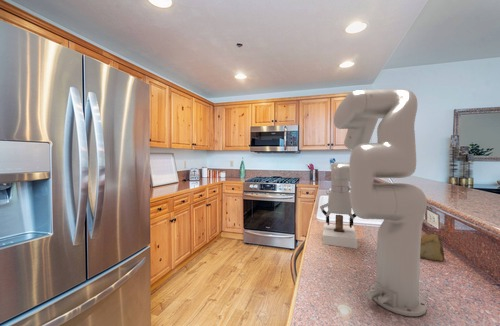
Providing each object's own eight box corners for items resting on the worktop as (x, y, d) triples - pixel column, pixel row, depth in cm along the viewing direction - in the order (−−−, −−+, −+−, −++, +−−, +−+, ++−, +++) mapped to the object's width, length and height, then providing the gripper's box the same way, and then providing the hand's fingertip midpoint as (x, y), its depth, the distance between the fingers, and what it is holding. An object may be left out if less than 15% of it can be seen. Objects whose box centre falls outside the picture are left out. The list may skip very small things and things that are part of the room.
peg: (339, 240, 100) (339, 216, 100) (333, 238, 103) (334, 215, 103) (344, 239, 101) (344, 216, 101) (338, 237, 104) (339, 214, 104)
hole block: (357, 248, 91) (357, 239, 91) (322, 244, 96) (322, 235, 96) (353, 234, 108) (353, 226, 108) (324, 230, 113) (324, 223, 113)
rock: (404, 251, 84) (438, 257, 76) (406, 230, 88) (438, 233, 80) (414, 261, 89) (446, 268, 81) (415, 241, 92) (446, 245, 85)
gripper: (359, 189, 102) (358, 225, 102) (320, 187, 108) (320, 221, 109) (361, 191, 95) (360, 230, 95) (319, 189, 101) (319, 225, 102)
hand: (339, 225), depth 102 cm, fingers open, 9 cm apart
